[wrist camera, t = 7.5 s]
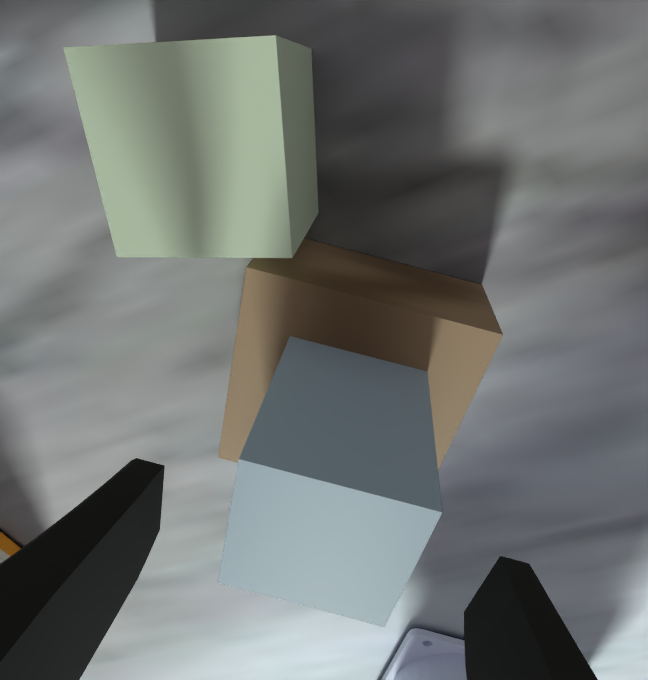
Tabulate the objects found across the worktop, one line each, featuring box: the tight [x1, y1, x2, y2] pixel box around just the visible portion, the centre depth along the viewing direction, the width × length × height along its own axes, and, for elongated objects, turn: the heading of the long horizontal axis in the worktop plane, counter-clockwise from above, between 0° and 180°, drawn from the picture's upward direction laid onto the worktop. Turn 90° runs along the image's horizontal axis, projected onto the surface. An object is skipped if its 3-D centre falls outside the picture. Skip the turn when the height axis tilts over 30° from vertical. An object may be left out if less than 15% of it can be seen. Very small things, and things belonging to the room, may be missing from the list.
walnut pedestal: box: [218, 238, 503, 470], centre depth 16 cm, size 7×7×4 cm
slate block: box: [218, 336, 442, 627], centre depth 12 cm, size 4×4×5 cm
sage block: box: [64, 35, 319, 258], centre depth 13 cm, size 4×4×4 cm
